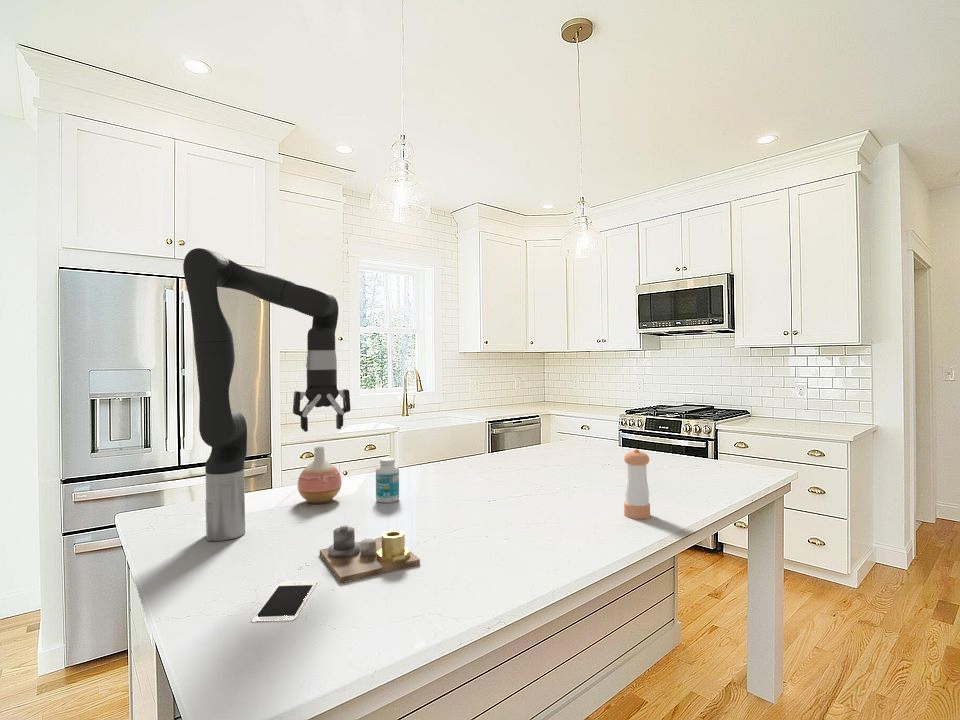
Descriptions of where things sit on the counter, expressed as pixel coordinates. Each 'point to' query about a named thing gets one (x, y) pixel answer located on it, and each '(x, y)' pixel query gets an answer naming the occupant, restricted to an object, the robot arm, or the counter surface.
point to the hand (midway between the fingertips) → (322, 430)
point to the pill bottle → (387, 481)
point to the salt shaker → (636, 486)
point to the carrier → (358, 556)
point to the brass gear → (393, 547)
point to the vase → (319, 480)
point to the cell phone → (285, 600)
